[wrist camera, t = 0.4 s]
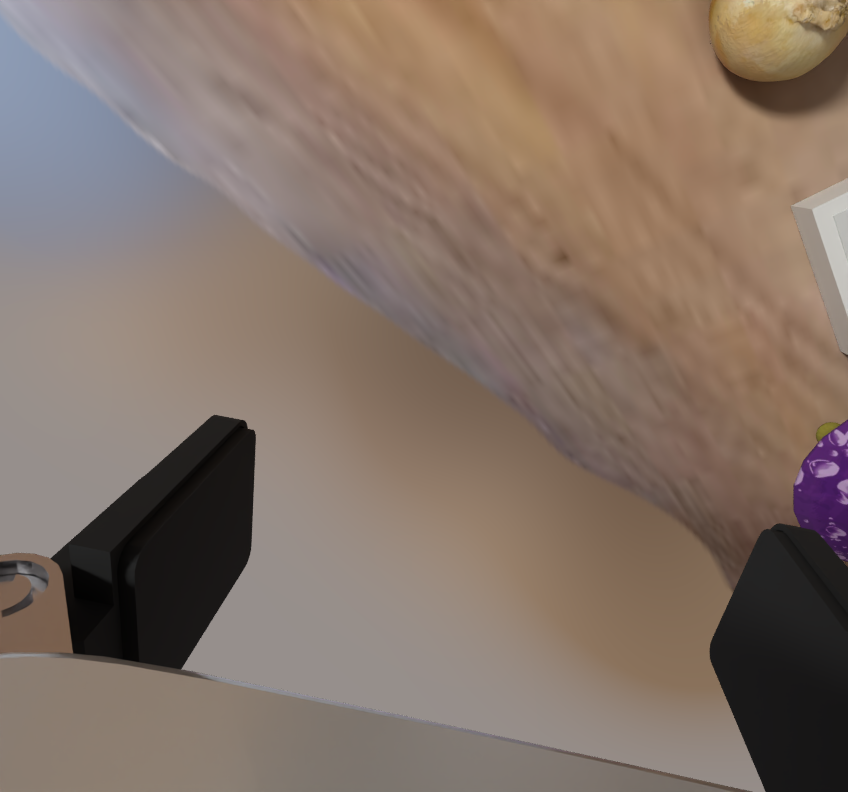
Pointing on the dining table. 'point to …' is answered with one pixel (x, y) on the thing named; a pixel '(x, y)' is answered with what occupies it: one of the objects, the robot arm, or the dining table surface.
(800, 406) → the dining table surface
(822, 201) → the blank white picture frame
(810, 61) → the onion
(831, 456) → the decorative mushroom
